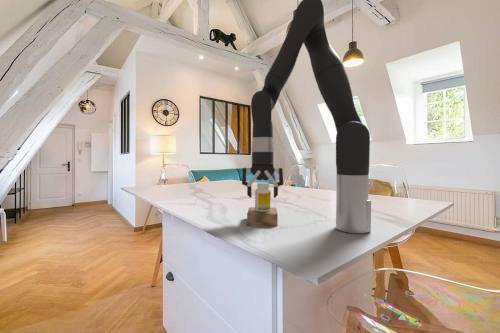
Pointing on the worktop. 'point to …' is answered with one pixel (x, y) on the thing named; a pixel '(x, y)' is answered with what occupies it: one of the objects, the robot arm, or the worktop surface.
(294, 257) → the worktop surface
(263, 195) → the supplement bottle
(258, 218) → the walnut block
